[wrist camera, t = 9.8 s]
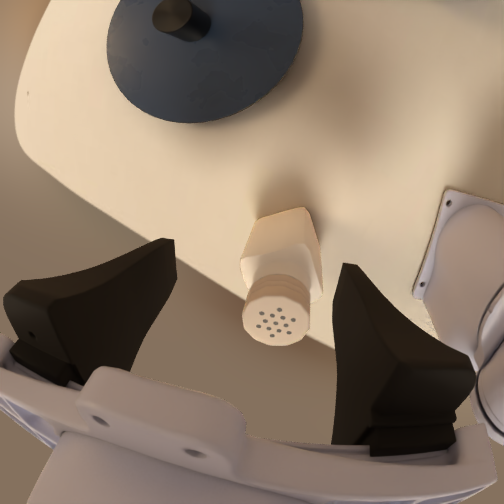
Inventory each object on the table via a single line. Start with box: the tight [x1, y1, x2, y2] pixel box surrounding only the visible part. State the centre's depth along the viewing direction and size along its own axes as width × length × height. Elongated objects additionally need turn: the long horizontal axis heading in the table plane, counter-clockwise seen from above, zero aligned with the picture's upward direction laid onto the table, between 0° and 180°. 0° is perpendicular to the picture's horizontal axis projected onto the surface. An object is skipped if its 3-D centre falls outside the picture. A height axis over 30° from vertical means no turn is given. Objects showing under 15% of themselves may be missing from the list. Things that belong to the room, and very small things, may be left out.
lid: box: [107, 0, 303, 123], centre depth 13 cm, size 14×14×5 cm
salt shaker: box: [240, 207, 323, 346], centre depth 17 cm, size 4×4×10 cm
